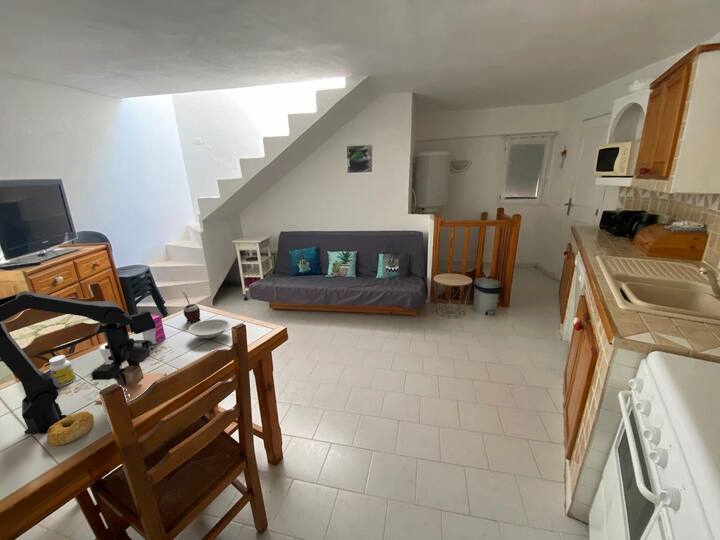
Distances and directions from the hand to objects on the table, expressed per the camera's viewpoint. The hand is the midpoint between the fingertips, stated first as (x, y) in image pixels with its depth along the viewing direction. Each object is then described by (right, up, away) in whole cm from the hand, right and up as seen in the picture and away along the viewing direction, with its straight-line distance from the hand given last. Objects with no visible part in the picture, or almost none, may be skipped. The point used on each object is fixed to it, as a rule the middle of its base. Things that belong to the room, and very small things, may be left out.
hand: (130, 379), depth 102 cm
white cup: (-19, +1, +17) cm, 26 cm away
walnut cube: (0, -1, 0) cm, 1 cm away
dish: (+11, +7, +33) cm, 36 cm away
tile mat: (0, -3, +1) cm, 4 cm away
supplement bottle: (-27, -3, +5) cm, 27 cm away
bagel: (-4, -10, -16) cm, 19 cm away
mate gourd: (-6, +12, +48) cm, 50 cm away
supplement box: (-12, +6, +30) cm, 33 cm away
